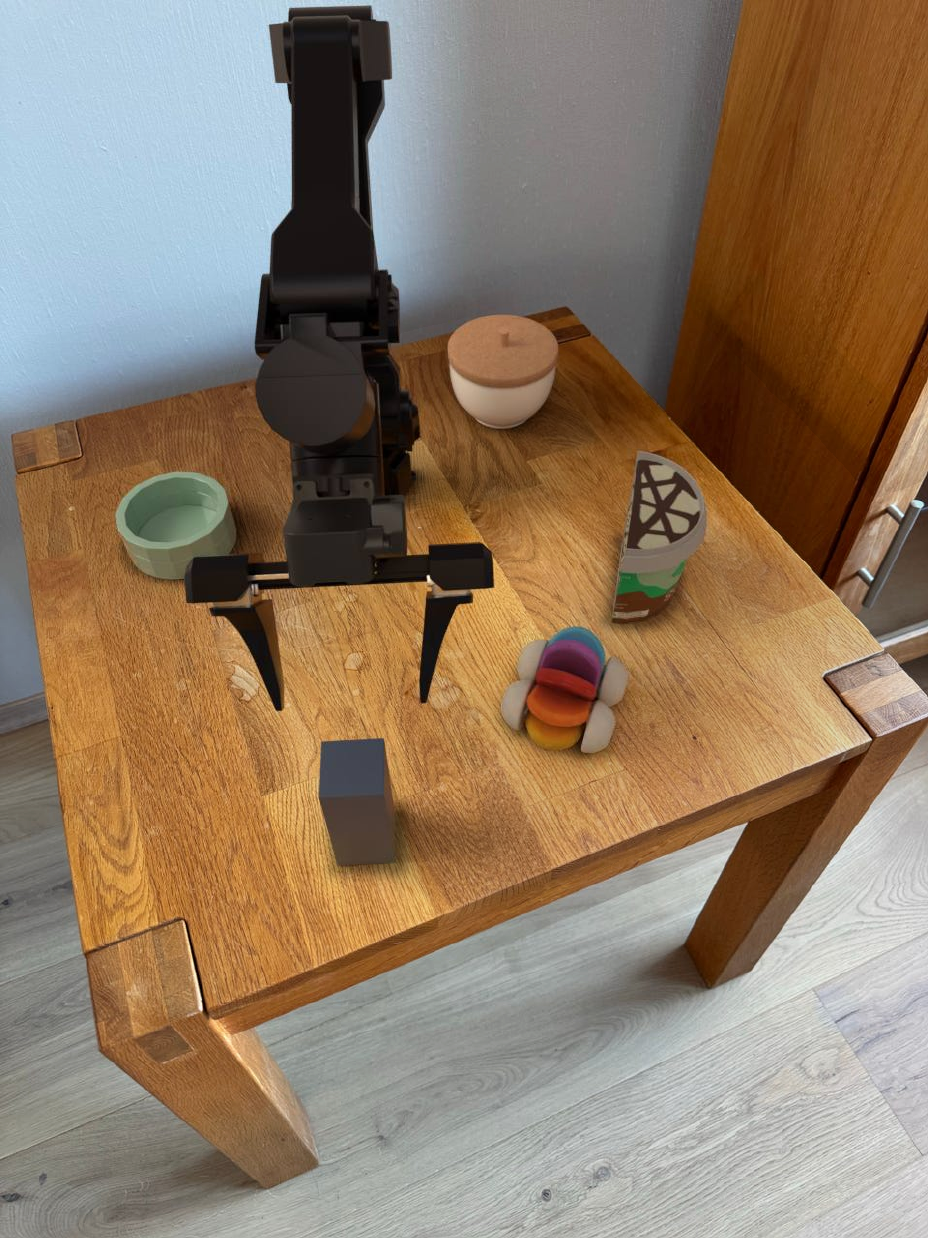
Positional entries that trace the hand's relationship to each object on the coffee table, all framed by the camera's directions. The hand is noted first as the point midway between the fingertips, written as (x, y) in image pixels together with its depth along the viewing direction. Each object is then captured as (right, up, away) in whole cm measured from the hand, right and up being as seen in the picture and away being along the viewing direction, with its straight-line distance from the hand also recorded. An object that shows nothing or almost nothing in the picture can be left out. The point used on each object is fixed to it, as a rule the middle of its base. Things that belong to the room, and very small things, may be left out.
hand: (352, 706), depth 59 cm
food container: (+24, +8, +20) cm, 32 cm away
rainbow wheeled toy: (+15, -2, +13) cm, 20 cm away
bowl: (-18, +13, +24) cm, 33 cm away
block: (0, -10, +6) cm, 11 cm away
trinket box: (+11, +27, +36) cm, 46 cm away
